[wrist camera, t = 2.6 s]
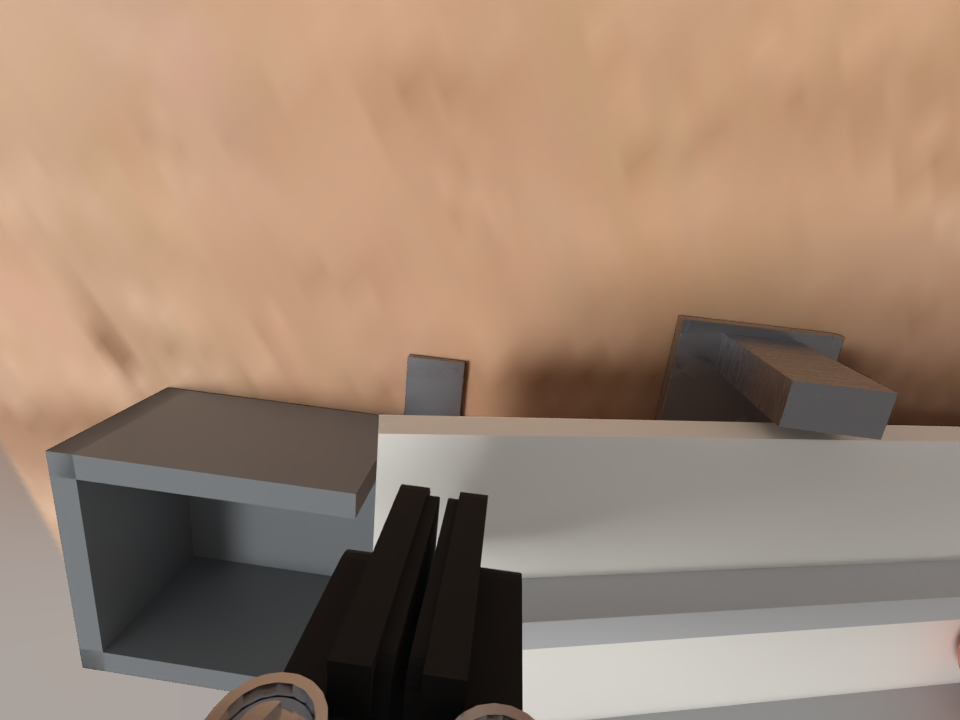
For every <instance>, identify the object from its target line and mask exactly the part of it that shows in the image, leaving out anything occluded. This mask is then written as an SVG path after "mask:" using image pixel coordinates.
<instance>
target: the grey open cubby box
mask: <svg viewBox="0 0 960 720" xmlns="http://www.w3.org/2000/svg"><path fill="white" fill-rule="evenodd" d="M378 428H379V415H374V414H366V413H359V412H351V411H343V410H336V409H328V408H320V407H313V406H305V405H297V404H290V403H282V402H274V401H266V400H259V399H251V398H243V397H236V396H228V395H220V394H213V393H205V392H197V391H190V390H182V389H174V388H165V389H163V390H161V391H160V392H158V393H156V394H154V395H152V396H150V397H148V398H146V399H144V400H142V401H140V402H138V403H136V404H135V405H133V406H131V407H129V408H127V409H125V410H123V411H121V412H119V413H117V414H115V415H113V416H112V417H110V418H108V419H106V420H104V421H102V422H100V423H98V424H96V425H94V426H92V427H90V428H88V429H87V430H85V431H83V432H81V433H79V434H77V435H75V436H73V437H71V438H69V439H67V440H65V441H63V442H62V443H60V444H58V445H56V446H54V447H52V448H50V449H48V450H46V457H47V463H48V469H49V475H50V480H51V486H52V492H53V498H54V504H55V510H56V515H57V521H58V527H59V533H60V539H61V544H62V550H63V556H64V562H65V568H66V573H67V579H68V585H69V591H70V596H71V602H72V608H73V614H74V620H75V625H76V631H77V637H78V643H79V649H80V655H81V661H82V666H83V668H88V669H95V670H101V671H107V672H113V673H120V674H125V675H132V676H138V677H144V678H150V679H156V680H163V681H169V682H175V683H181V684H187V685H193V686H199V687H206V688H212V689H218V690H224V691H232V690H233V689H235V688H237V687H238V686H240V685H241V684H243V683H244V682H246V681H248V680H251V679H253V678H256V677H259V676H261V675H264V674H271V673H278V672H284V670H285V668H286V666H287V664H288V662H289V660H290V658H291V656H292V654H293V652H294V650H295V648H296V646H297V644H298V642H299V640H300V638H301V636H302V634H303V632H304V630H305V628H306V626H307V624H308V622H309V620H310V618H311V616H312V614H313V612H314V610H315V608H316V606H317V604H318V602H319V600H320V598H321V596H322V594H323V592H324V590H325V588H326V586H327V584H328V582H329V580H330V578H331V576H332V574H333V572H334V570H335V568H336V566H337V564H338V562H339V560H340V558H341V557H342V555H343V553H344V552H345V551H346V550H347V549H351V550H358V551H366V552H373V539H374V516H375V494H376V472H377V450H378Z"/></svg>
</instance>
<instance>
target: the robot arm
mask: <svg viewBox="0 0 960 720" xmlns="http://www.w3.org/2000/svg"><path fill="white" fill-rule="evenodd" d="M487 503H488V495H482V494H474V493H467V492H460V496H459V499H453V498H448V501H447V505H446V509H445V513H444V517H443V521H442V525H441V530H440V534H439V538H438V542H437V546H436V539H437V528H438V516H439V505H440V497H438V496H430V488H428V487H421V486H413V485H405V484H402V485H401V486H400V488H399V490H398V493H397V495H396V498H395V500H394V502H393V505H392V507H391V509H390V512H389V514H388V517H387V519H386V521H385V524H384V526H383V528H382V531H381V533H380V536H379V538H378V540H377V543H376V545H375V547H374V550H373V552H366V551H358V550H351V549H347V550H346V551H345V552H344V553H343V555H342V557H341V558H340V560H339V562H338V564H337V566H336V568H335V570H334V572H333V574H332V576H331V578H330V580H329V582H328V584H327V586H326V588H325V590H324V592H323V594H322V596H321V598H320V600H319V602H318V604H317V606H316V608H315V610H314V612H313V614H312V616H311V618H310V620H309V622H308V624H307V626H306V628H305V630H304V632H303V634H302V636H301V638H300V640H299V642H298V644H297V646H296V648H295V650H294V652H293V654H292V656H291V658H290V660H289V662H288V664H287V666H286V668H285V670H284V672H278V673H271V674H264V675H261V676H259V677H256V678H253V679H251V680H248V681H246V682H244V683H243V684H241V685H240V686H238V687H237V688H235V689H233V690H232V691H230V692H229V693H228V694H227V695H226V696H225V697H224V698H223V699H222V700H221V701H220V702H219V703H218V704H217V705H216V706H215V707H214V708H213V710H212V711H211V712H210V714H209V715H208V716H207V717H206V719H205V720H535V719H533V718H532V717H531V716H530V715H529V714H527V713H526V712H524V711H523V681H522V574H521V573H519V572H512V571H505V570H498V569H490V568H483V567H480V566H481V557H482V548H483V539H484V530H485V521H486V512H487Z"/></svg>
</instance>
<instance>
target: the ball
mask: <svg viewBox="0 0 960 720" xmlns="http://www.w3.org/2000/svg"><path fill="white" fill-rule="evenodd" d="M958 664H959V669H960V644H959V647H958Z"/></svg>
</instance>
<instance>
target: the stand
mask: <svg viewBox="0 0 960 720" xmlns="http://www.w3.org/2000/svg"><path fill="white" fill-rule="evenodd" d="M843 341H844V337H842V336H839V335H837V334H835V333H828V332H820V331H811V330H803V329H794V328H785V327H777V326H768V325H759V324H751V323H742V322H734V321H725V320H716V319H708V318H699V317H690V316H682V315H679V316H678V320H677V325H676V329H675V334H674V338H673V343H672V347H671V352H670V356H669V361H668V365H667V370H666V374H665V379H664V383H663V388H662V392H661V397H660V401H659V406H658V410H657V415H656V419H655V420H667V421H716V422H764V423H775V424H776V425H777V426H778V427H783V428H791V429H799V430H807V431H815V432H823V433H831V434H839V435H847V436H854V437H862V438H870V439H878V440H881V438H882V436H883V433H884V430H885V428H886V425H887V422H888V420H889V417H890V414H891V412H892V409H893V406H894V403H895V401H896V398H897V395H898V393H896V392H894V391H892V390H891V389H889V388H887V387H885V386H883V385H881V384H879V383H877V382H875V381H873V380H871V379H869V378H868V377H866V376H864V375H862V374H860V373H858V372H856V371H854V370H852V369H850V368H848V367H847V366H845V365H843V364H841V363H839V362H837V360H838V356H839V353H840V350H841V347H842V344H843ZM464 371H465V361H460V360H452V359H444V358H436V357H427V356H419V355H411V354H410V355H409V356H408V363H407V379H406V396H405V412H404V415H426V416H460V413H461V402H462V392H463V382H464Z"/></svg>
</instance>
